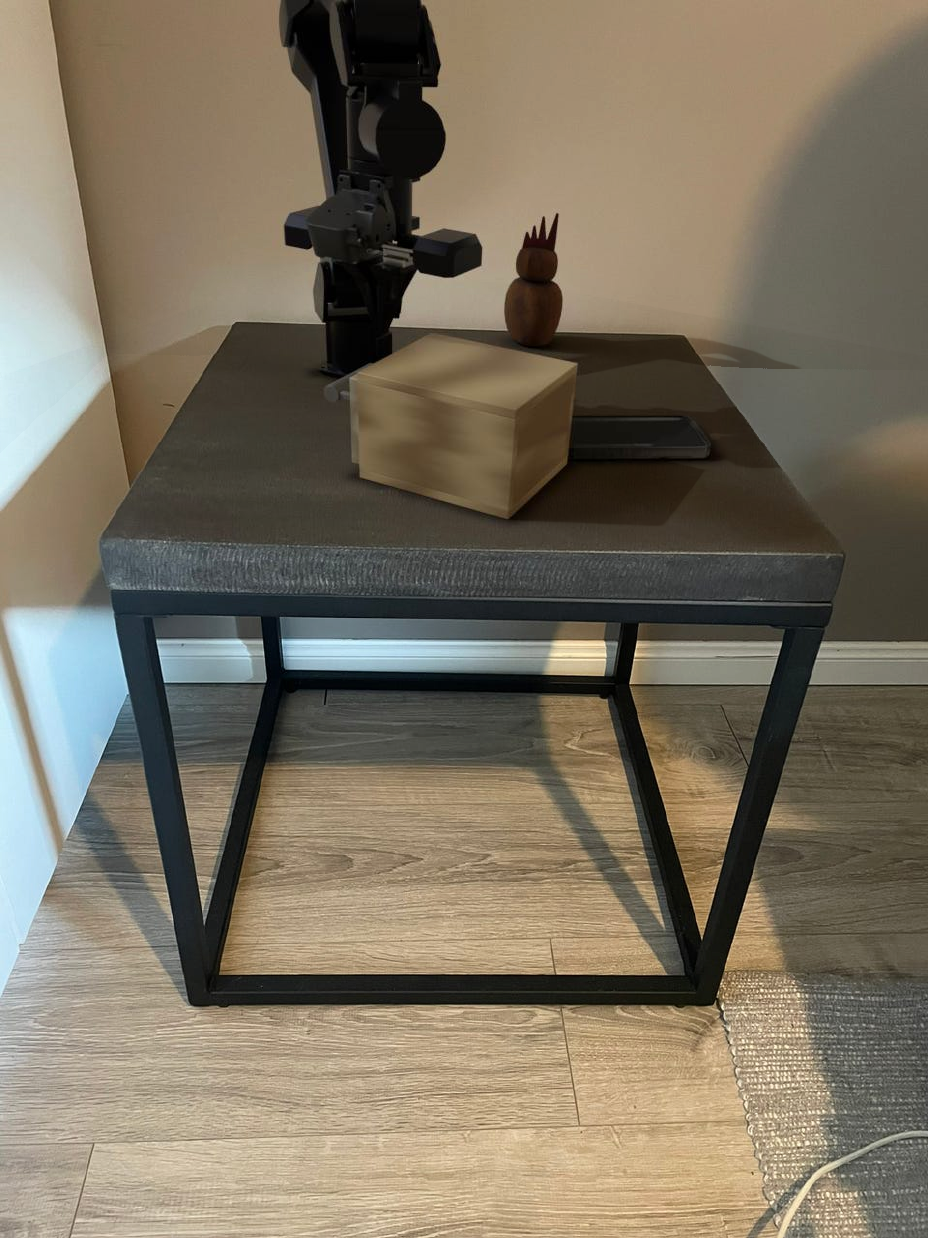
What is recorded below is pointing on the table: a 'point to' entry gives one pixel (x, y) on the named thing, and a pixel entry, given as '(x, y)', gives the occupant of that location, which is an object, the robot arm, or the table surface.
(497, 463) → the cabinet
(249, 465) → the table surface
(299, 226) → the robot arm
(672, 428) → the phone
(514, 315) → the wooden figurine
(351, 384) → the drawer
